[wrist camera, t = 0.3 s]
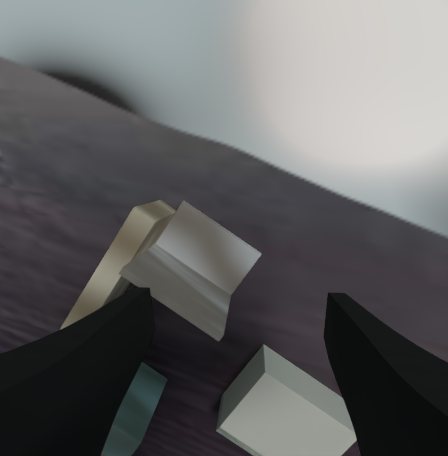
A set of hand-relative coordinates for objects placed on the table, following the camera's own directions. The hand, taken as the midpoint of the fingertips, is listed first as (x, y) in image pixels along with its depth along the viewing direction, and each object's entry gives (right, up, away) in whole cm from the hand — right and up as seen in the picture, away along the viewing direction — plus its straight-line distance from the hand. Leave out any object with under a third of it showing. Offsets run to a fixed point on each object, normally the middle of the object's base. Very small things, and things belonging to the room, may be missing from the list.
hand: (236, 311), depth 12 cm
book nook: (-6, -3, +12) cm, 14 cm away
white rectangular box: (+4, -11, +12) cm, 17 cm away
